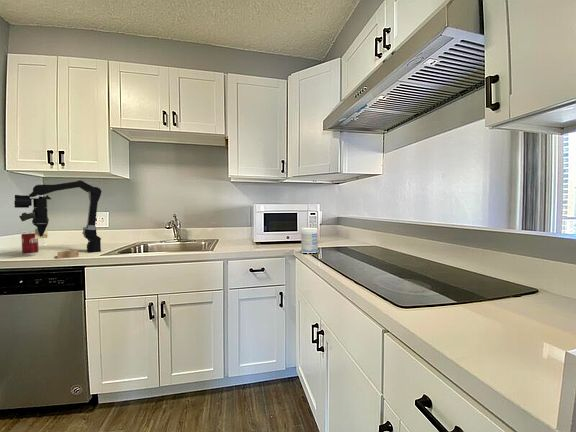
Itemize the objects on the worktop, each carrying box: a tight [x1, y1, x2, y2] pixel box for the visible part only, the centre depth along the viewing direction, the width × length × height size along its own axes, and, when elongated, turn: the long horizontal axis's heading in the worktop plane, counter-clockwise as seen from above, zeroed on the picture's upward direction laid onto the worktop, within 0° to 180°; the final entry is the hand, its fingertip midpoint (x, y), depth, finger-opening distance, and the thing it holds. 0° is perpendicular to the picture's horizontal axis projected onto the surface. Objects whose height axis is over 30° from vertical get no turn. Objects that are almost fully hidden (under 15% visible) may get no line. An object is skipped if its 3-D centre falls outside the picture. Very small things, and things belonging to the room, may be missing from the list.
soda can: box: [20, 232, 40, 255], centre depth 166 cm, size 7×7×12 cm
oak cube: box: [34, 227, 49, 239], centre depth 154 cm, size 5×5×5 cm
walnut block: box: [57, 250, 80, 260], centre depth 154 cm, size 9×9×3 cm
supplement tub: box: [300, 227, 319, 254], centre depth 162 cm, size 10×10×15 cm
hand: (41, 235), depth 154 cm, fingers closed on oak cube, 5 cm apart
